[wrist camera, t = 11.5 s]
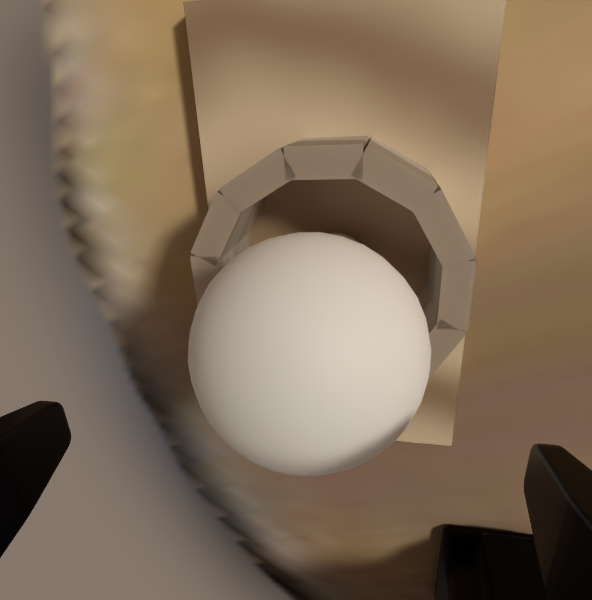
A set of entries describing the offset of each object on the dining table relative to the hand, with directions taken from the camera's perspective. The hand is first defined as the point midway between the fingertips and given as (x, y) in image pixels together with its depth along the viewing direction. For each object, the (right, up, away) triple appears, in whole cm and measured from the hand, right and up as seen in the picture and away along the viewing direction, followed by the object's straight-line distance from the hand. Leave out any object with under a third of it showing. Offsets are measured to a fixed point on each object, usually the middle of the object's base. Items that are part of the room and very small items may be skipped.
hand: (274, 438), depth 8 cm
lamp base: (+2, +5, +11) cm, 12 cm away
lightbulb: (+2, +5, +11) cm, 12 cm away
